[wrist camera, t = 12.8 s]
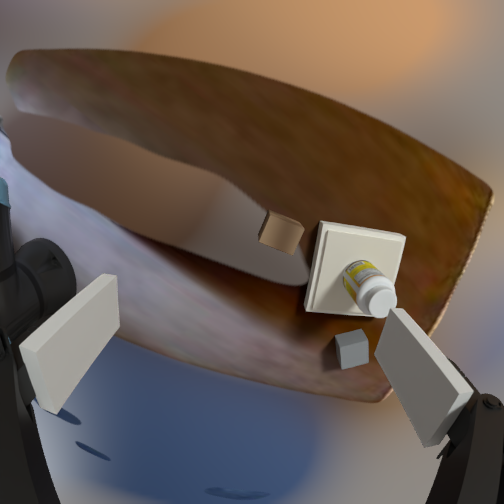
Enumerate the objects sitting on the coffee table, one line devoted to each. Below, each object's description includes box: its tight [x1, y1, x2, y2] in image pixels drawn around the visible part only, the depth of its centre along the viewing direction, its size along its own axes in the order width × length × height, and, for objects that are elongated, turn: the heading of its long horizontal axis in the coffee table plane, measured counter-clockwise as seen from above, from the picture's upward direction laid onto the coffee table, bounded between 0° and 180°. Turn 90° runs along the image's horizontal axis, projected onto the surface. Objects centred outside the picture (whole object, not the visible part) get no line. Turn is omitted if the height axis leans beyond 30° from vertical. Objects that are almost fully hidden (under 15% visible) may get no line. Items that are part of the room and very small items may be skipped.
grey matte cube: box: [335, 329, 369, 369], centre depth 50 cm, size 5×5×4 cm
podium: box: [304, 221, 406, 317], centre depth 46 cm, size 14×14×3 cm
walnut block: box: [258, 210, 304, 255], centre depth 43 cm, size 5×4×5 cm
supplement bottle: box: [342, 260, 397, 318], centre depth 40 cm, size 6×6×10 cm
